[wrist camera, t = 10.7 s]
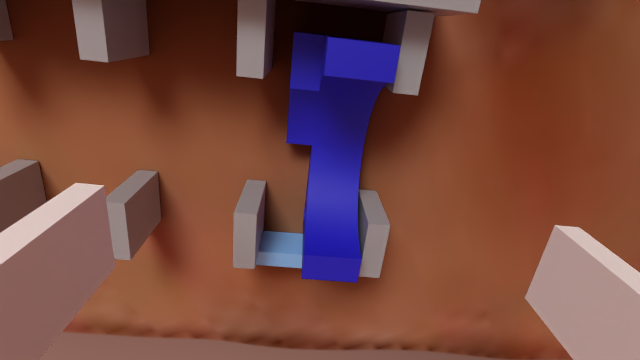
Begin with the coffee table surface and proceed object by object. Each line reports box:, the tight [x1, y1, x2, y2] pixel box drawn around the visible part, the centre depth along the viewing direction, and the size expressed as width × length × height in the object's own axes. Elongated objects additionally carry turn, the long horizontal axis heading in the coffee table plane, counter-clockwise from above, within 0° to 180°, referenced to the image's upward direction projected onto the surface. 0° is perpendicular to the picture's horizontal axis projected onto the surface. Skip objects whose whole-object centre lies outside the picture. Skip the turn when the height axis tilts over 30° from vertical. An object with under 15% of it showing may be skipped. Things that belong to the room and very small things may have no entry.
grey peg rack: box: [0, 0, 481, 278], centre depth 19 cm, size 25×16×6 cm, turn 84°
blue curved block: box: [286, 32, 401, 282], centre depth 20 cm, size 12×4×6 cm, turn 174°
